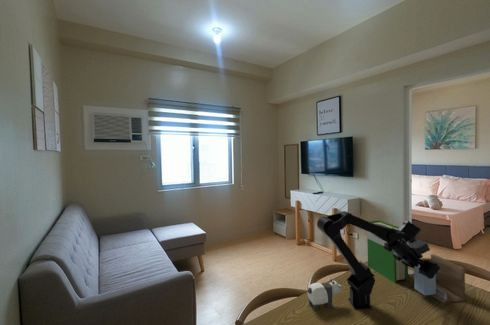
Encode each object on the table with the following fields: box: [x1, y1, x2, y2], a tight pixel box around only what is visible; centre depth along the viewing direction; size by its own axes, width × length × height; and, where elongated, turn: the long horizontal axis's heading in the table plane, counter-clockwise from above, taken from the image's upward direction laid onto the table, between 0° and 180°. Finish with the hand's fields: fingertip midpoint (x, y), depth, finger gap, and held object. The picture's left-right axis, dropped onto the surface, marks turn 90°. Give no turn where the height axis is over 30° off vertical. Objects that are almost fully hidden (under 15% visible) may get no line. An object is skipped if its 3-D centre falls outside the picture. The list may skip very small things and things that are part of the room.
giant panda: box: [307, 278, 343, 311], centre depth 98 cm, size 15×6×10 cm, turn 101°
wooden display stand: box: [430, 254, 466, 304], centre depth 104 cm, size 10×14×13 cm
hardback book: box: [366, 219, 409, 284], centre depth 121 cm, size 18×7×24 cm, turn 12°
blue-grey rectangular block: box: [413, 265, 436, 296], centre depth 100 cm, size 5×5×10 cm
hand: (427, 273), depth 100 cm, fingers closed on blue-grey rectangular block, 5 cm apart
